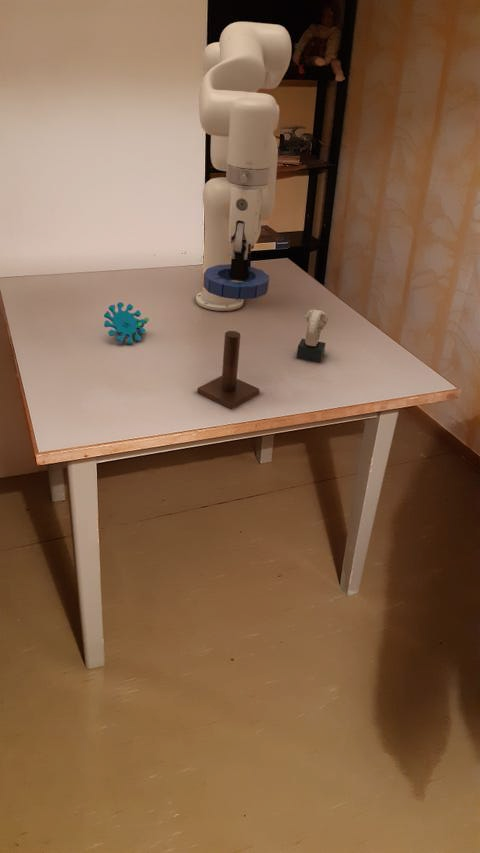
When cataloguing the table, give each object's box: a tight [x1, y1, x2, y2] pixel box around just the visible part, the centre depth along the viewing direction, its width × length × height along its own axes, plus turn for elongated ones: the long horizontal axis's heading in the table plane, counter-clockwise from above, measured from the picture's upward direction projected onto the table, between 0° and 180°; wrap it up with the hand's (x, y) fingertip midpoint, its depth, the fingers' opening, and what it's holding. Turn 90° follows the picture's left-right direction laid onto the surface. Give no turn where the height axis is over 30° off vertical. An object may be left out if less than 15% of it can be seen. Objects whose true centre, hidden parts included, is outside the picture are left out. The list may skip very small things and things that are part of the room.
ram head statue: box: [296, 309, 329, 364], centre depth 150 cm, size 6×8×11 cm
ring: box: [202, 264, 270, 300], centre depth 124 cm, size 12×12×2 cm
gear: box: [103, 301, 150, 345], centre depth 154 cm, size 11×6×10 cm
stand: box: [196, 330, 261, 410], centre depth 132 cm, size 9×9×13 cm
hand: (240, 275), depth 128 cm, fingers closed on ring, 2 cm apart
